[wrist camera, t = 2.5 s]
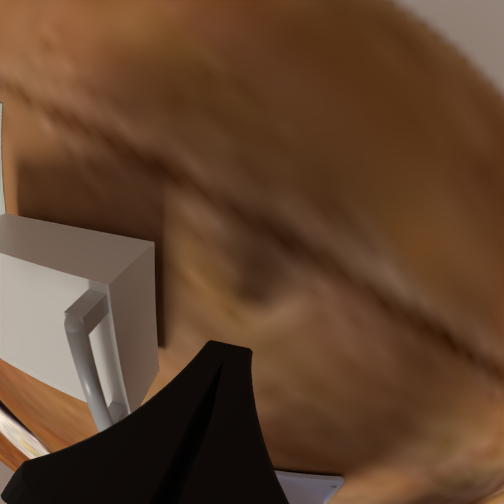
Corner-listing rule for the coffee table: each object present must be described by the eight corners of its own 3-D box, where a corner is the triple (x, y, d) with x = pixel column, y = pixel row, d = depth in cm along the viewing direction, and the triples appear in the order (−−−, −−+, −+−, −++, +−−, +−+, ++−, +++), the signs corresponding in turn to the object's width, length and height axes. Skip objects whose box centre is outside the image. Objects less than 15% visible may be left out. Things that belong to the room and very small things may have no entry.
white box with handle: (165, 358, 14) (117, 449, 9) (35, 314, 14) (-24, 371, 10) (163, 233, 11) (76, 315, 6) (16, 207, 12) (-69, 252, 7)
